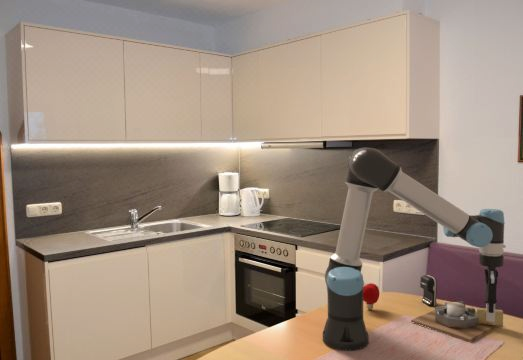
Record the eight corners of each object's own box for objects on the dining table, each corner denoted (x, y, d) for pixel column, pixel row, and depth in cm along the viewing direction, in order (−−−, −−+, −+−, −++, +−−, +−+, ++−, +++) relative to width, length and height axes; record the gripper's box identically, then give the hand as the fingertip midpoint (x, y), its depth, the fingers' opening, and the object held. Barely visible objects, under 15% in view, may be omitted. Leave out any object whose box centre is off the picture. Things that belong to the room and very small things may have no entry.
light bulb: (367, 304, 185) (367, 280, 184) (383, 308, 180) (383, 283, 179) (356, 311, 177) (356, 286, 177) (372, 315, 173) (372, 289, 172)
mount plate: (470, 342, 148) (470, 321, 147) (411, 322, 165) (411, 303, 165) (501, 325, 161) (501, 305, 161) (443, 308, 179) (444, 291, 178)
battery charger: (418, 301, 187) (419, 274, 186) (427, 300, 188) (427, 273, 187) (428, 307, 180) (428, 279, 180) (437, 306, 181) (437, 278, 180)
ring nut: (435, 325, 159) (436, 311, 158) (434, 311, 172) (434, 298, 172) (506, 332, 152) (506, 318, 151) (498, 317, 165) (499, 304, 165)
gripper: (505, 258, 149) (504, 328, 151) (501, 250, 161) (500, 316, 162) (480, 257, 152) (479, 325, 153) (478, 249, 164) (477, 313, 165)
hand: (490, 320), depth 158 cm, fingers closed
